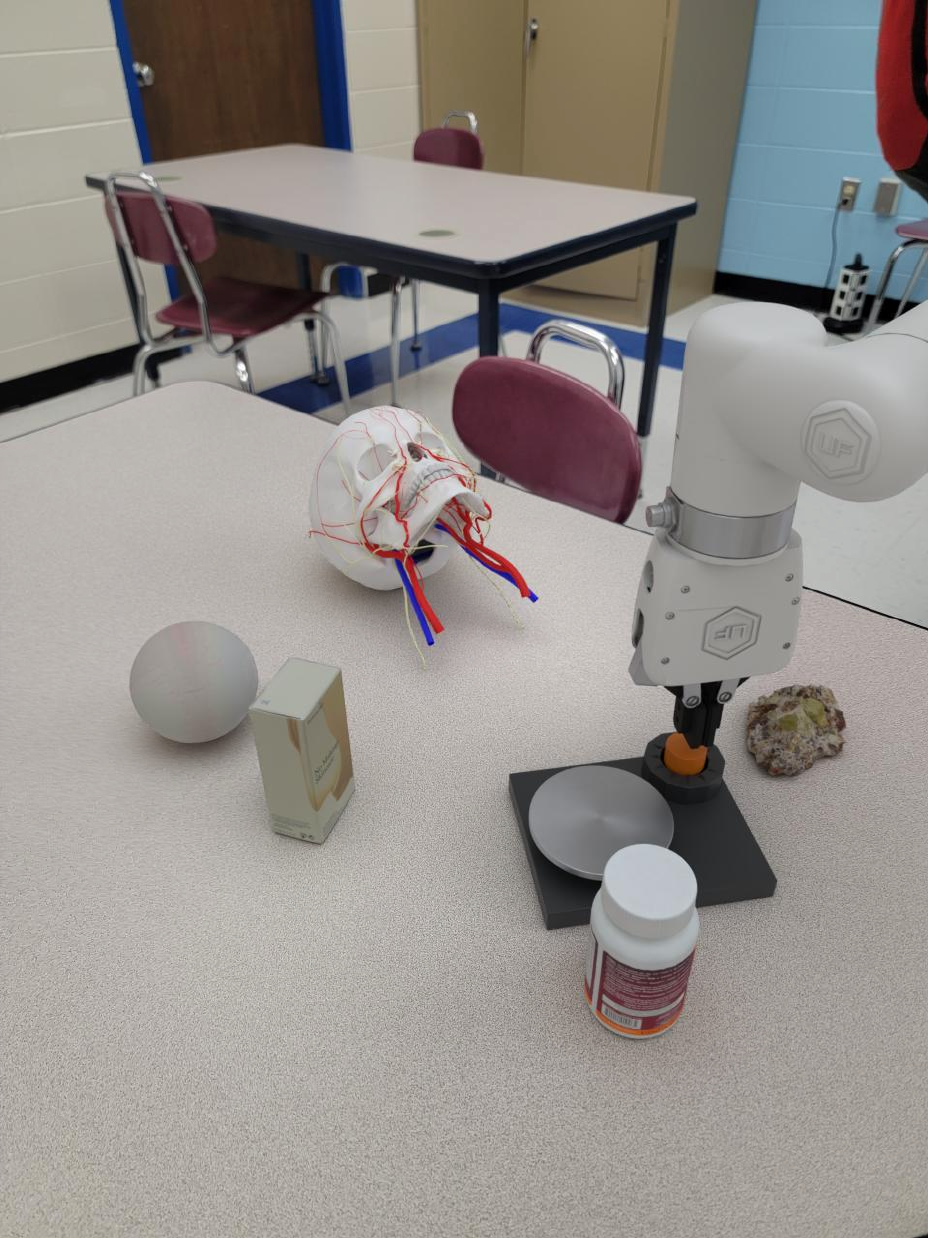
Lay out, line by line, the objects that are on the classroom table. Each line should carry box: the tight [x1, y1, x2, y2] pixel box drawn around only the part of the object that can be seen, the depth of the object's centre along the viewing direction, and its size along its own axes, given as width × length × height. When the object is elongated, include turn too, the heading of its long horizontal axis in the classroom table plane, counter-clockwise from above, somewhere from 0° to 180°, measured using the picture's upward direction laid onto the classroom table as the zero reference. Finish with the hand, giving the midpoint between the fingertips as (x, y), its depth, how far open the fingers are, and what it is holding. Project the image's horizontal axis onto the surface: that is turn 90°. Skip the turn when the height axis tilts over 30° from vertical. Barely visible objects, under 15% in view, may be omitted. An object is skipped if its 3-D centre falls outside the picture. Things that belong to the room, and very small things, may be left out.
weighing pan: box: [529, 766, 674, 881], centre depth 63 cm, size 10×10×1 cm
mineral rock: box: [745, 683, 847, 777], centre depth 74 cm, size 11×4×8 cm
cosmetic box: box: [248, 656, 356, 845], centre depth 66 cm, size 6×4×12 cm
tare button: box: [664, 733, 707, 776], centre depth 68 cm, size 3×3×2 cm
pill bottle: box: [583, 844, 700, 1040], centre depth 53 cm, size 6×6×11 cm
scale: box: [508, 731, 778, 931], centre depth 66 cm, size 16×14×4 cm
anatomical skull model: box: [308, 405, 539, 672], centre depth 87 cm, size 16×19×25 cm
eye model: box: [129, 620, 259, 744], centre depth 74 cm, size 10×10×10 cm
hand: (694, 735), depth 66 cm, fingers closed
